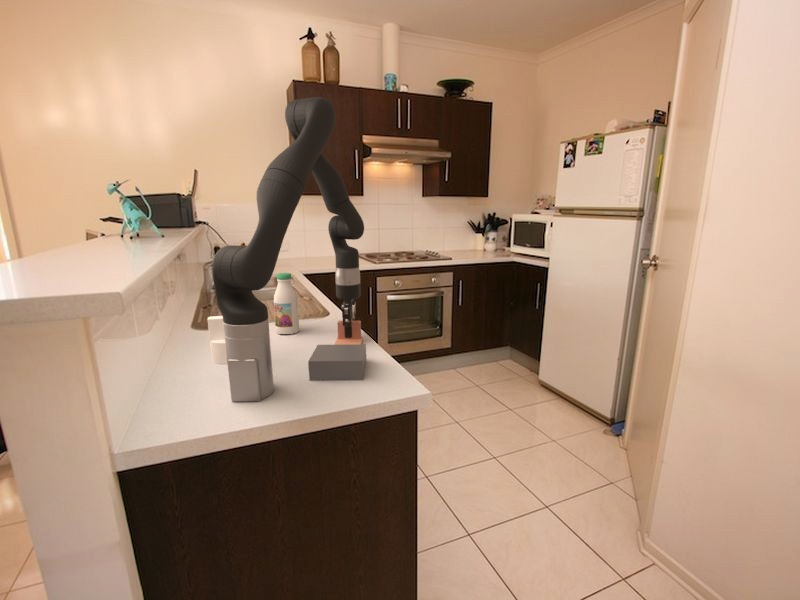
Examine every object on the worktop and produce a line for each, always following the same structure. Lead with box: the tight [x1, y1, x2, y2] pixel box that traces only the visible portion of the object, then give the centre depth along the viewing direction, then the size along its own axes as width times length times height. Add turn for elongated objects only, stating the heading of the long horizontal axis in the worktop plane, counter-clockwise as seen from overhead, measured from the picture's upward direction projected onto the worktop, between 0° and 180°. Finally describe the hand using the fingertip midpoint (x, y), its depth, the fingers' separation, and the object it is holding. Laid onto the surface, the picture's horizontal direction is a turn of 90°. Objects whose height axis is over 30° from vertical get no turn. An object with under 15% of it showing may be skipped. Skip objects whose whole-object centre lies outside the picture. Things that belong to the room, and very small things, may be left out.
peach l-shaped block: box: [333, 320, 364, 345], centre depth 119 cm, size 20×8×6 cm, turn 1°
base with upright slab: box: [207, 315, 228, 365], centre depth 112 cm, size 9×9×12 cm
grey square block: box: [307, 344, 367, 381], centre depth 105 cm, size 13×13×5 cm
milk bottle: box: [273, 272, 300, 335], centre depth 135 cm, size 8×8×20 cm
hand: (349, 334), depth 128 cm, fingers open, 6 cm apart
